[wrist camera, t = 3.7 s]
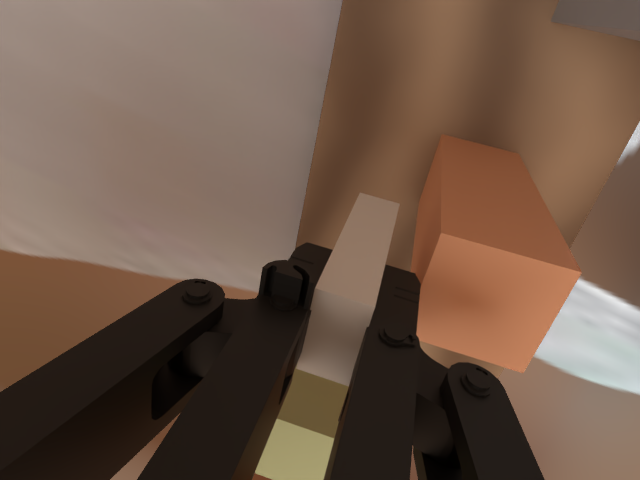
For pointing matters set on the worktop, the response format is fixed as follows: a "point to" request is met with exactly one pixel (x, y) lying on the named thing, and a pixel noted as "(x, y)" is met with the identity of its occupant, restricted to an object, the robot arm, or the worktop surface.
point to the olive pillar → (303, 429)
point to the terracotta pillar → (487, 256)
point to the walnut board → (466, 110)
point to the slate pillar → (601, 16)
